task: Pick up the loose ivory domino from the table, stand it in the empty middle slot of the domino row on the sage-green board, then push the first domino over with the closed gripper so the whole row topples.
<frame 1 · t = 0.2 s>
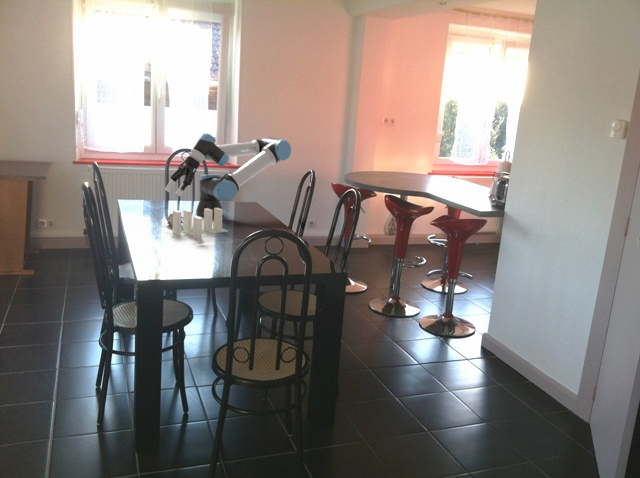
hand: (172, 193, 308), 16 cm above the table, tool tilted 35°, fingers open, 13 cm apart
domino 1: (217, 230, 297), point 1 cm above the table, touching board
domino 2: (207, 231, 293), point 1 cm above the table, touching board
domino 4: (187, 232, 287), point 1 cm above the table, touching board
game die: (174, 228, 299), on the table
board: (197, 233, 290), on the table
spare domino: (197, 240, 277), on the table
domino 5: (176, 233, 283), point 1 cm above the table, touching board
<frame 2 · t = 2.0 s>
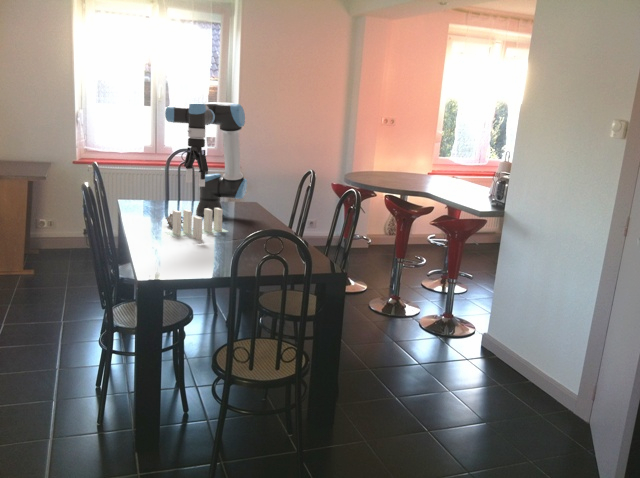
hand: (195, 184, 272), 26 cm above the table, tool pointing down, fingers open, 13 cm apart
nothing on the table moved.
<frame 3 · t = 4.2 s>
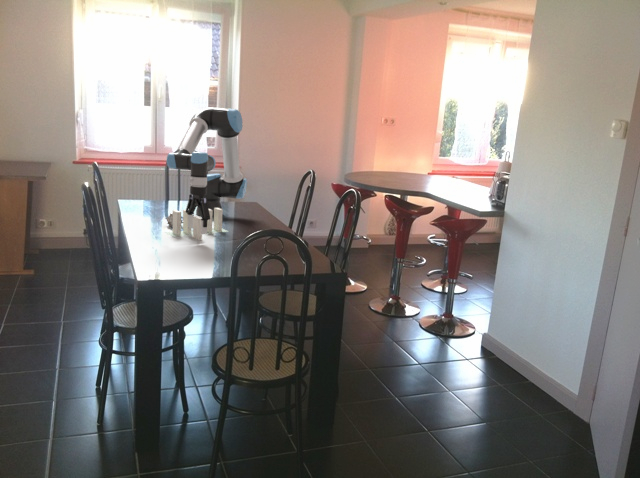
hand: (197, 231, 276), 5 cm above the table, tool pointing down, fingers open, 13 cm apart
domino 4: (187, 232, 287), point 1 cm above the table, touching board, gripper, hand
everything else where it was.
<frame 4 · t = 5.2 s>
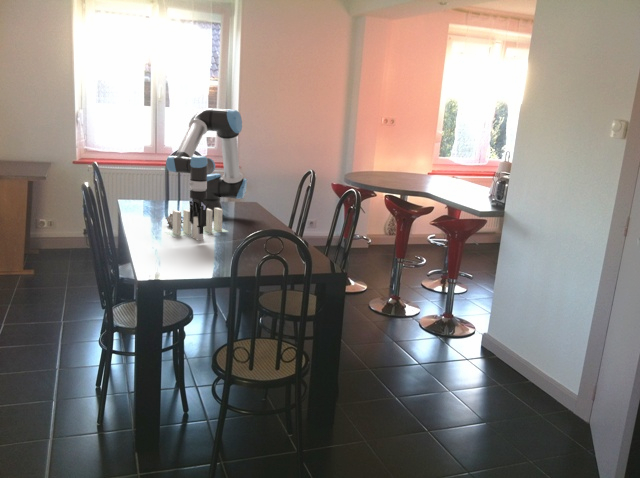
hand: (197, 238, 277), 1 cm above the table, tool pointing down, fingers closed on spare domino, 5 cm apart
domino 4: (187, 232, 287), point 1 cm above the table, touching board
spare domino: (197, 240, 277), on the table, touching gripper
everything else where it was.
when the fingers open (3 cm above the table, at t = 11.0 s): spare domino drops 1 cm, resting on board.
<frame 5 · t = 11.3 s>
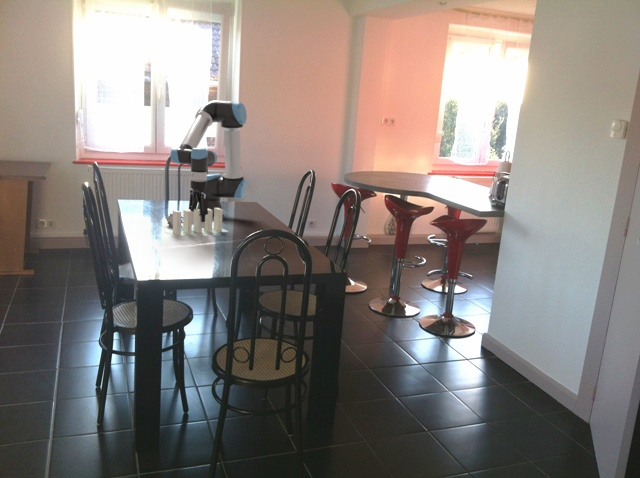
hand: (197, 226, 289), 4 cm above the table, tool pointing down, fingers open, 8 cm apart
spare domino: (197, 231, 290), point 1 cm above the table, touching board
everything else where it was.
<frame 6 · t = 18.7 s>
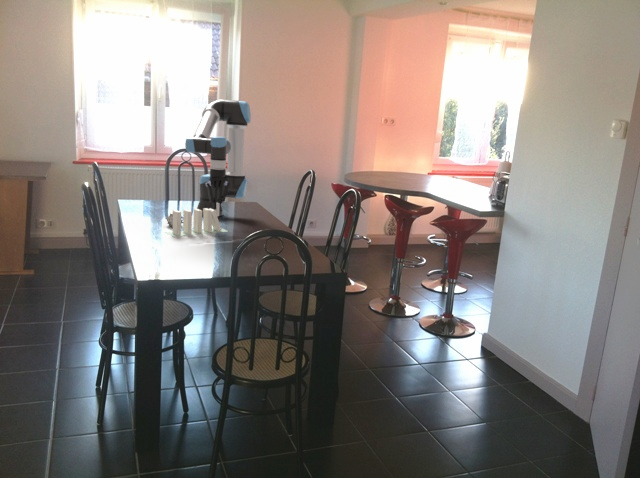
hand: (216, 215, 294), 8 cm above the table, tool pointing down, fingers closed
domino 1: (217, 229, 296), point 1 cm above the table, tilted 22°, touching board, domino 2
domino 2: (207, 230, 293), point 1 cm above the table, touching board, domino 1
everything else where it was.
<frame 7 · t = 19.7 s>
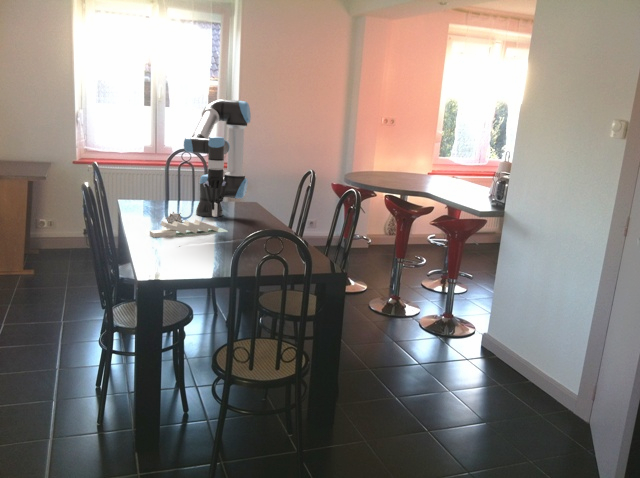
hand: (214, 216, 294), 8 cm above the table, tool pointing down, fingers closed
domino 1: (215, 228, 296), point 2 cm above the table, tilted 69°, touching board, domino 2
domino 2: (205, 229, 292), point 2 cm above the table, tilted 69°, touching board, domino 1, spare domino
domino 4: (183, 230, 285), point 2 cm above the table, tilted 68°, touching domino 5, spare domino
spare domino: (194, 230, 289), point 2 cm above the table, tilted 68°, touching board, domino 2, domino 4
domino 5: (174, 231, 282), point 2 cm above the table, tilted 91°, touching board, domino 4
everything else where it was.
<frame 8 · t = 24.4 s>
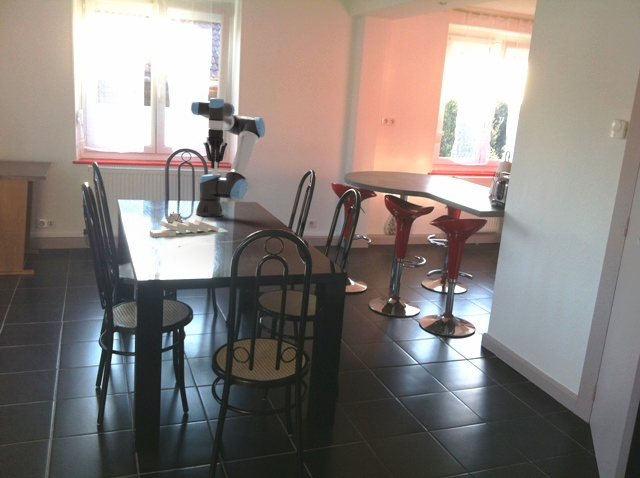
hand: (214, 174, 309), 26 cm above the table, tool pointing down, fingers closed
nothing on the table moved.
at the end: domino 5 tilted 91°; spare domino inside the target area on the board (0.1 cm from its centre), point 1.9 cm above the board's base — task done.
